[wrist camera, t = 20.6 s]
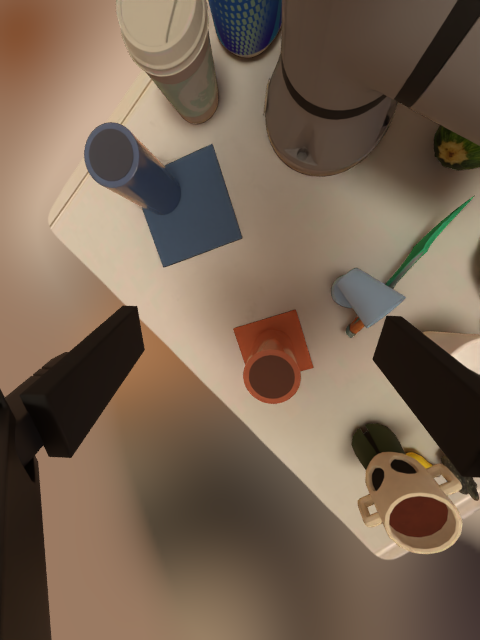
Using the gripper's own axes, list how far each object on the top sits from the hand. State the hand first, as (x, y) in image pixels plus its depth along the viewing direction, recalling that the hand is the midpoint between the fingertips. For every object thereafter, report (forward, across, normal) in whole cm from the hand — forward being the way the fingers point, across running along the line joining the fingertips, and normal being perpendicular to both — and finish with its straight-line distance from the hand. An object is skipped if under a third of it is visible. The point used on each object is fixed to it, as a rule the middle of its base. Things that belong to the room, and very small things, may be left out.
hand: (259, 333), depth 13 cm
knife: (+22, +19, -2) cm, 29 cm away
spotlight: (+21, +14, -5) cm, 26 cm away
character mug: (+14, +19, -26) cm, 35 cm away
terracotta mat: (+20, +4, -14) cm, 24 cm away
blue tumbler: (+28, -13, +7) cm, 32 cm away
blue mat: (+27, -10, +5) cm, 29 cm away
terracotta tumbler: (+20, +4, -14) cm, 24 cm away
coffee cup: (+31, -8, +18) cm, 37 cm away
